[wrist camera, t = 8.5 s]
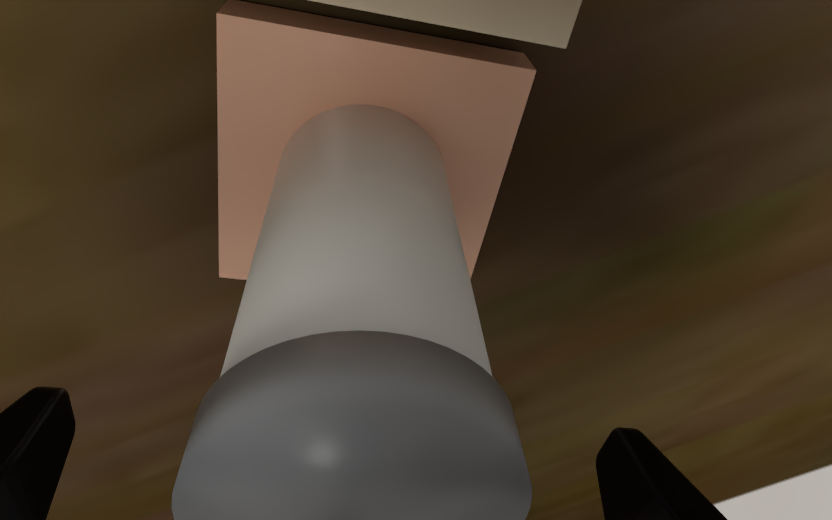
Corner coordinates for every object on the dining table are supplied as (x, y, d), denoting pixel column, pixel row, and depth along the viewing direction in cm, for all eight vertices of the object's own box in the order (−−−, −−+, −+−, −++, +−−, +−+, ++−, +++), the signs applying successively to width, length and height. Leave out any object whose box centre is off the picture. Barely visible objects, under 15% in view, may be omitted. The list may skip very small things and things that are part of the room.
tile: (457, 275, 21) (463, 302, 19) (228, 249, 19) (219, 277, 18) (523, 52, 16) (536, 70, 15) (228, -2, 15) (216, 12, 13)
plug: (431, 266, 18) (481, 599, 10) (266, 246, 17) (179, 593, 9) (471, 113, 15) (584, 415, 7) (274, 81, 14) (158, 382, 6)
